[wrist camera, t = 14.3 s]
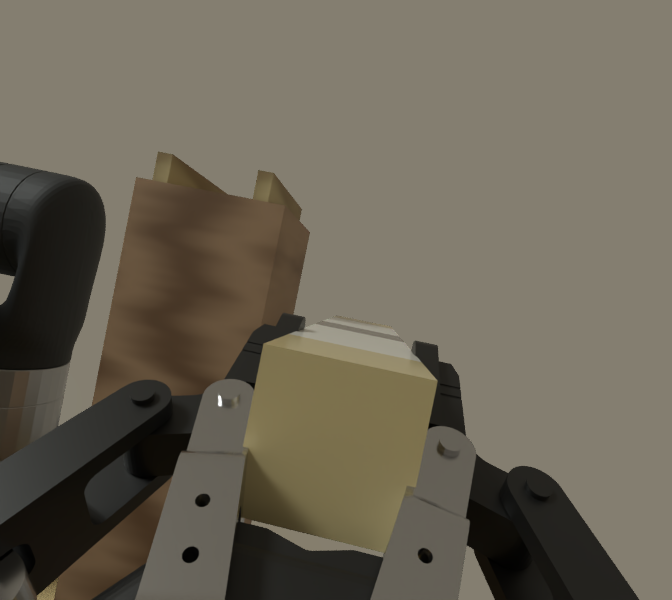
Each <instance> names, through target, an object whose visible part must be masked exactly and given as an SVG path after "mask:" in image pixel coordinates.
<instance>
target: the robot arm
mask: <svg viewBox="0 0 672 600" xmlns="http://www.w3.org/2000/svg"><path fill="white" fill-rule="evenodd" d="M105 223H106V218H105V211H104V205H103V202H102V199H101V197H100V195H99V193H98V192H97V191H96V189H95V188H94V187H93V186H92V185H90V184H89V183H87V182H85V181H83V180H80V179H77V178H75V177H71V176H67V175H62V174H57V173H53V172H48V171H43V170H38V169H33V168H28V167H23V166H18V165H12V164H8V163H3V162H0V274H6V275H10V276H15V278H14V281H13V284H12V287H11V290H10V293H9V295H8V298H7V300H6V301H5V302H4V303H3V304H2V305H0V600H37V595H38V594H39V593H40V592H42V591H43V590H44V589H45V588H46V587H47V586H48V585H50V584H51V583H52V582H53V581H54V580H55V579H56V578H58V577H59V576H60V575H61V574H62V573H63V572H64V571H66V570H67V569H68V568H69V567H70V566H71V565H72V564H74V563H75V562H76V561H77V560H78V559H79V558H80V557H81V556H83V555H84V554H85V553H86V552H87V551H88V550H89V549H91V548H92V547H93V546H94V545H95V544H96V543H97V542H99V541H100V540H101V539H102V538H103V537H104V536H105V535H107V534H108V533H109V532H110V531H111V530H112V529H113V528H115V527H116V526H117V525H118V524H119V523H120V522H121V521H122V520H124V519H125V518H126V517H127V516H128V515H129V514H130V513H132V512H133V511H134V510H135V509H136V508H137V507H138V506H140V505H141V504H142V503H143V502H144V501H145V500H146V499H148V498H149V497H150V496H151V495H152V494H153V493H154V492H155V491H157V490H158V489H159V488H160V487H161V486H162V485H163V484H165V483H166V482H167V481H168V480H169V479H170V478H171V477H172V476H173V477H172V480H171V484H170V487H169V490H168V493H167V497H166V500H165V503H164V507H163V510H162V513H161V517H160V520H159V523H158V526H157V530H156V533H155V536H154V540H153V543H152V546H151V550H150V553H149V556H148V559H147V562H146V563H145V564H143V565H142V566H141V567H139V568H138V569H136V570H135V571H133V572H132V573H130V574H129V575H127V576H126V577H124V578H123V579H121V580H120V581H118V582H117V583H115V584H114V585H112V586H111V587H109V588H108V589H106V590H105V591H103V592H102V593H100V594H99V595H97V596H96V597H94V598H93V599H91V600H458V596H459V589H460V583H461V577H462V571H463V564H464V558H465V552H466V546H469V547H471V548H472V549H474V553H475V556H476V558H477V561H478V563H479V565H480V567H481V570H482V572H483V574H484V576H485V579H486V581H487V583H488V585H489V587H490V590H491V592H492V594H493V596H494V598H495V600H639V599H638V597H637V596H636V594H635V593H634V591H633V590H632V589H631V587H630V586H629V584H628V583H627V581H626V580H625V579H624V577H623V576H622V574H621V573H620V571H619V570H618V569H617V567H616V566H615V564H614V563H613V561H612V560H611V558H610V557H609V556H608V555H607V553H606V551H605V550H604V549H603V547H602V546H601V544H600V543H599V541H598V540H597V539H596V537H595V536H594V534H593V533H592V532H591V530H590V528H589V527H588V526H587V524H586V523H585V521H584V520H583V519H582V517H581V516H580V514H579V513H578V511H577V510H576V509H575V507H574V505H573V504H572V503H571V501H570V500H569V498H568V497H567V496H566V494H565V493H564V491H563V490H562V488H561V487H560V486H559V484H558V483H557V482H556V481H555V480H553V479H552V478H551V477H550V476H549V475H547V474H546V473H544V472H542V471H540V470H538V469H536V468H532V467H528V466H519V467H515V468H513V469H512V470H511V471H510V472H509V473H507V472H505V471H502V470H501V469H499V468H497V467H495V466H493V465H491V464H489V463H487V462H485V461H484V460H483V459H481V458H480V457H479V456H478V455H477V454H476V450H475V448H474V446H473V444H472V442H471V441H470V440H469V439H468V438H467V437H466V434H465V425H464V416H463V407H462V400H461V390H460V382H459V376H458V374H457V372H456V371H455V369H454V368H453V366H452V365H451V364H448V363H443V362H439V358H438V346H437V345H434V344H429V343H424V342H419V341H414V343H413V346H412V350H411V352H412V353H413V354H414V355H415V356H416V357H417V358H418V359H419V360H420V361H421V362H422V363H423V365H424V366H425V367H426V368H427V369H428V370H429V371H430V373H431V374H432V375H433V376H434V377H435V378H436V380H437V381H438V382H437V387H436V392H435V396H434V401H433V406H432V411H431V416H430V421H429V426H428V431H427V435H426V440H425V445H424V450H423V455H422V460H421V465H420V470H419V474H418V479H417V484H416V487H411V486H407V487H406V490H405V493H404V496H403V499H402V502H401V505H400V508H399V511H398V514H397V517H396V520H395V523H394V526H393V529H392V532H391V535H390V538H389V541H388V544H387V547H386V550H385V553H384V554H383V557H378V556H374V555H370V554H366V553H362V552H358V551H354V550H348V551H347V550H342V551H308V550H305V549H303V548H301V547H299V546H297V545H295V544H294V543H292V542H290V541H288V540H287V539H285V538H283V537H281V536H280V535H278V534H276V533H274V532H272V531H271V530H269V529H267V528H263V527H259V526H255V525H251V524H247V523H244V520H245V518H242V514H243V503H244V491H245V480H246V469H247V457H248V448H247V447H243V443H244V438H245V433H246V428H247V423H248V418H249V413H250V408H251V403H252V398H253V394H254V389H255V384H256V379H257V374H258V369H259V364H260V359H261V354H262V349H263V344H264V343H267V342H269V341H272V340H274V339H277V338H280V337H282V336H285V335H287V334H290V333H293V332H295V331H297V332H298V331H300V330H303V329H304V328H305V317H302V316H297V315H293V314H288V313H283V314H282V315H281V317H280V319H279V321H278V323H277V325H276V326H272V325H267V324H264V325H262V326H261V327H259V328H257V329H256V330H254V331H253V332H252V334H251V336H250V337H249V339H248V341H247V343H246V344H245V345H244V347H243V349H242V351H241V352H240V354H239V355H238V357H237V359H236V360H235V362H234V364H233V365H232V367H231V369H230V370H229V372H228V374H227V375H226V377H225V379H224V380H220V381H217V382H215V383H213V384H211V385H210V386H208V387H207V388H206V390H205V391H204V393H203V394H198V395H182V396H172V395H171V390H170V388H169V387H168V386H167V385H166V384H165V383H163V382H160V381H157V380H139V381H135V382H132V383H130V384H128V385H126V386H124V387H122V388H121V389H119V390H117V391H116V392H114V393H112V394H111V395H109V396H108V397H106V398H104V399H103V400H101V401H99V402H98V403H96V404H94V405H93V406H91V407H90V408H88V409H86V410H85V411H83V412H81V413H80V414H78V415H76V416H75V417H73V418H71V419H70V420H68V421H67V422H65V423H63V424H62V425H60V426H58V423H59V418H60V412H61V408H62V403H63V398H64V392H65V386H66V381H67V376H68V371H69V365H70V360H71V355H72V350H73V347H74V344H75V342H76V340H77V337H78V335H79V333H80V331H81V328H82V326H83V323H84V320H85V316H86V312H87V308H88V303H89V299H90V295H91V291H92V286H93V283H94V279H95V276H96V272H97V268H98V264H99V261H100V256H101V252H102V248H103V243H104V236H105V227H106V226H105V225H106V224H105Z"/></svg>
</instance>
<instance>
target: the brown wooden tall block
mask: <svg viewBox="0 0 672 600" xmlns="http://www.w3.org/2000/svg"><path fill="white" fill-rule="evenodd" d="M301 210H302V209H301V208H300V206H299V205H298V204H297V202H296V201H295V200H294V199H293V197H292V196H291V195H290V194H289V192H288V191H287V190H286V188H285V187H284V186H283V184H282V183H281V182H280V180H279V179H278V178H277V177H276V175H275V174H274V173H271V172H265V171H260V170H258V176H257V180H256V185H255V190H254V196H253V199H248V198H243V197H238V196H233V195H228V194H226V193H225V192H224V191H222V190H221V189H219V188H218V187H217V186H215V185H214V184H213V183H211V182H210V181H209V180H207V179H206V178H204V177H203V176H202V175H200V174H199V173H198V172H196V171H195V170H193V169H192V168H191V167H189V166H188V165H187V164H185V163H184V162H182V161H181V160H180V159H178V158H177V157H175V156H174V155H173V154H167V153H162V152H158V155H157V160H156V165H155V170H154V175H153V180H148V179H143V178H138V177H136V181H135V186H134V191H133V196H132V202H131V206H130V212H129V217H128V222H127V227H126V232H125V238H124V243H123V248H122V253H121V258H120V264H119V269H118V274H117V279H116V284H115V289H114V294H113V299H112V304H111V310H110V315H109V320H108V325H107V330H106V335H105V340H104V346H103V351H102V356H101V361H100V366H99V371H98V377H97V382H96V388H95V392H94V397H93V402H92V406H93V405H94V404H96V403H98V402H99V401H101V400H103V399H104V398H106V397H108V396H109V395H111V394H112V393H114V392H116V391H117V390H119V389H121V388H122V387H124V386H126V385H128V384H130V383H132V382H135V381H139V380H157V381H160V382H163V383H165V384H166V385H167V386H168V387H169V388H170V390H171V395H172V396H182V395H198V394H203V393H204V391H205V390H206V388H207V387H208V386H210V385H211V384H213V383H215V382H217V381H220V380H224V379H225V377H226V375H227V374H228V372H229V370H230V369H231V367H232V365H233V364H234V362H235V360H236V359H237V357H238V355H239V354H240V352H241V351H242V349H243V347H244V345H245V344H246V343H247V341H248V339H249V337H250V336H251V334H252V332H253V331H254V330H256V329H257V328H259V327H261V326H262V325H264V324H267V325H272V326H276V325H277V323H278V321H279V319H280V317H281V315H282V314H283V313H288V314H293V313H294V308H295V303H296V298H297V293H298V288H299V283H300V278H301V274H302V269H303V263H304V258H305V254H306V249H307V243H308V239H309V234H310V232H309V231H308V230H307V229H306V228H305V227H304V226H303V224H302V223H301V222H300V221H299V220H300V215H301ZM172 477H173V476H172ZM172 477H171V478H170V479H169V480H168V481H167V482H166V483H165V484H163V485H162V486H161V487H160V488H159V489H158V490H157V491H155V492H154V493H153V494H152V495H151V496H150V497H149V498H148V499H146V500H145V501H144V502H143V503H142V504H141V505H140V506H138V507H137V508H136V509H135V510H134V511H133V512H132V513H130V514H129V515H128V516H127V517H126V518H125V519H124V520H122V521H121V522H120V523H119V524H118V525H117V526H116V527H115V528H113V529H112V530H111V531H110V532H109V533H108V534H107V535H105V536H104V537H103V538H102V539H101V540H100V541H99V542H97V543H96V544H95V545H94V546H93V547H92V548H91V549H89V550H88V551H87V552H86V553H85V554H84V555H83V556H81V557H80V558H79V559H78V560H77V561H76V562H75V563H74V564H72V565H71V566H70V567H69V568H68V569H67V570H66V571H64V572H63V573H62V574H61V575H60V576H59V578H58V583H57V588H56V593H55V598H54V600H91V599H93V598H94V597H96V596H97V595H99V594H100V593H102V592H103V591H105V590H106V589H108V588H109V587H111V586H112V585H114V584H115V583H117V582H118V581H120V580H121V579H123V578H124V577H126V576H127V575H129V574H130V573H132V572H133V571H135V570H136V569H138V568H139V567H141V566H142V565H143V564H145V563H146V562H147V559H148V556H149V553H150V550H151V546H152V543H153V540H154V536H155V533H156V530H157V526H158V523H159V520H160V517H161V513H162V510H163V507H164V503H165V500H166V497H167V493H168V490H169V487H170V484H171V480H172ZM251 521H252V520H250V519H246V518H245V520H244V523H247V524H251Z"/></svg>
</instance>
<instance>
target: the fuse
mask: <svg viewBox="0 0 672 600" xmlns="http://www.w3.org/2000/svg"><path fill="white" fill-rule="evenodd" d="M437 382H438V381H437V380H436V378H435V377H434V376H433V375H432V374H431V373H430V371H429V370H428V369H427V368H426V367H425V366H424V365H423V363H422V362H421V361H420V360H419V359H418V358H417V357H416V356H415V355H414V354H413V353H412V352H411V350H410V349H409V347H408V346H407V345H406V344H405V343H404V341H403V340H402V339H401V338H400V337H399V336H398V335H397V334H396V332H395V331H394V330H393V329H392V328H391V327H390V326H385V325H380V324H375V323H370V322H365V321H360V320H356V319H351V318H346V317H341V316H335V317H332V318H330V319H327V320H324V321H322V322H319V323H316V324H314V325H311V326H309V327H306V328H304V329H303V330H300V331H298V332H297V331H295V332H293V333H290V334H287V335H285V336H282V337H280V338H277V339H274V340H272V341H269V342H267V343H264V344H263V349H262V354H261V359H260V364H259V369H258V374H257V379H256V384H255V389H254V394H253V398H252V403H251V408H250V413H249V418H248V423H247V428H246V433H245V438H244V443H243V447H247V448H248V457H247V469H246V480H245V491H244V503H243V514H242V518H246V519H250V520H254V521H258V522H262V523H266V524H270V525H275V526H278V527H283V528H286V529H290V530H295V531H298V532H302V533H307V534H311V535H315V536H319V537H323V538H327V539H331V540H335V541H339V542H343V543H347V544H351V545H355V546H359V547H364V548H367V549H371V550H375V551H379V552H383V553H385V550H386V547H387V544H388V541H389V538H390V535H391V532H392V529H393V526H394V523H395V520H396V517H397V514H398V511H399V508H400V505H401V502H402V499H403V496H404V493H405V490H406V487H407V486H411V487H416V484H417V479H418V474H419V470H420V465H421V460H422V455H423V450H424V445H425V440H426V435H427V431H428V426H429V421H430V416H431V411H432V406H433V401H434V396H435V392H436V387H437Z"/></svg>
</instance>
